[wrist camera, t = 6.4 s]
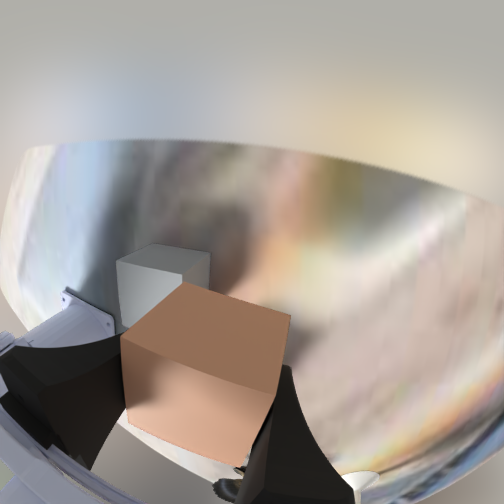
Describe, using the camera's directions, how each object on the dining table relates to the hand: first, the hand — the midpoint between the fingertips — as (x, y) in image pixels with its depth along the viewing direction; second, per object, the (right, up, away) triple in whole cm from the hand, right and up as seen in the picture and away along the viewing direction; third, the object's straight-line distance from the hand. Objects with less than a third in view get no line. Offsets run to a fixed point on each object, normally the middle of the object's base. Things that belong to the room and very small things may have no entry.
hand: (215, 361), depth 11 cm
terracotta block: (0, 0, +1) cm, 2 cm away
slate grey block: (-4, +3, +10) cm, 11 cm away
